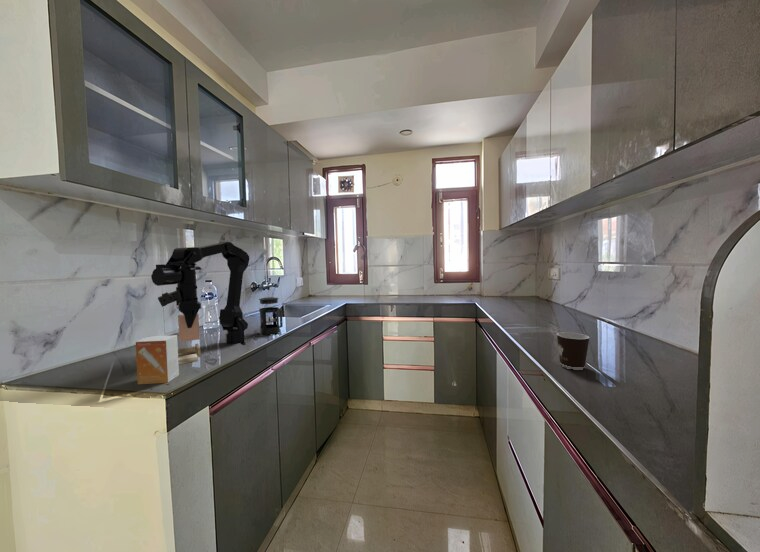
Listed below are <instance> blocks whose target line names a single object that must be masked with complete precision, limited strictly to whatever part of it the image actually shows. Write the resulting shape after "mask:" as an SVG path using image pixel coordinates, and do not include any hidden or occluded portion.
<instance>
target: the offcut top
mask: <svg viewBox="0 0 760 552" xmlns="http://www.w3.org/2000/svg"><path fill="white" fill-rule="evenodd" d="M195 361H197V362H199V357H198V356H197V354H196V353H190V354H184V355H178V363H179V364H181V365H185V364H184V363H186V364H190V363H189V362H192V363H196V362H195Z"/></svg>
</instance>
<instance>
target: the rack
mask: <svg viewBox="0 0 760 552" xmlns="http://www.w3.org/2000/svg"><path fill="white" fill-rule="evenodd" d="M190 354H197V356H198V358H201V356H202V355H201V347H200V345H199V343H195V344H194V346H193V345H192V346H188V347H187V346H186V347H182V348H178V356H184V355H190Z"/></svg>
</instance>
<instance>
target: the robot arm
mask: <svg viewBox="0 0 760 552" xmlns="http://www.w3.org/2000/svg"><path fill="white" fill-rule="evenodd" d="M217 254H221V256H222V257H223V258H224V259H225V260H226V261H227V263H226V264H227V267H228V269H229V279H228V290H227V298H226V305H225V306H224V308H220V310H219V317H218V320H219V324H220V326H221V328H222V331H226V333H225V334H224V336H225V337H224V338H225V344H226V345H236V344H240V345H246V344H247V343H246V341H245V331H246V330H248V328H249V327H248V326H249V323H248V322H247V321H246V320H245V319H244V313H243V310H242V309H241V306H240V304H241V298H242V297H241V296H242V288H243V278H244V277H243V276H244V273H245V271H246V269H247V268H248V266H249V263H250V255H249V253H247V252H246V251H244V249H242V248H241V247H239V246H237V245H235V244H233V243H232V242H230V241H220V242H217V243H212V244H208V245H203V246H197V247H196V246H195V247H194V246H192V247H190V246H189V247H176V248H174V249H173V251H172V255H171V256H170V257H169V258H168V260H167V261H166V264H155V268H154V269H153V270H152V274H151V276H150V277H151V281H152V283H153V284H154V285H155V286H158V287H159V286H169V285H170V286H171V285H176V287H175V290H173V291H171V292H168V291H166V292H165V293H162V294H161V295H160V296H158V297H157V300H158V302H159V304H160V306H161V307H166V306H168V305H169V304H172V303H174V302H175V305H176V306H177V310H178V311H179V312H180V313H181V314H182V315H184V316H185V320H186V324H187V327H188V328H191V327H192V325H193V322H194V320H195V318H196V315H197V313H198V312H199V310H201V309H202V303H201V302H200V301H199V297H198V285H197V271H198V270H202V268H201V267H200V266H199V265H198V264H197V263H198V262H200V261H202V260H203V259H204V258H206V257H210V256H214V255H217ZM198 314H199V313H198Z"/></svg>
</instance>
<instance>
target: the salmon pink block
mask: <svg viewBox="0 0 760 552" xmlns="http://www.w3.org/2000/svg"><path fill="white" fill-rule="evenodd" d="M199 315H200V314H199V313H197V315H196V318H195V320H194V322H193V325H192V327H191V328H188V327H187V324H186V320H185V316H184V315H183V314H178V315H177V323H178V340H179V343H183V342H184V343H185V342H190V341H197V340H201V339H200V338H201V337H200V336H201V334H200V321H199V320H200V316H199Z"/></svg>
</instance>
